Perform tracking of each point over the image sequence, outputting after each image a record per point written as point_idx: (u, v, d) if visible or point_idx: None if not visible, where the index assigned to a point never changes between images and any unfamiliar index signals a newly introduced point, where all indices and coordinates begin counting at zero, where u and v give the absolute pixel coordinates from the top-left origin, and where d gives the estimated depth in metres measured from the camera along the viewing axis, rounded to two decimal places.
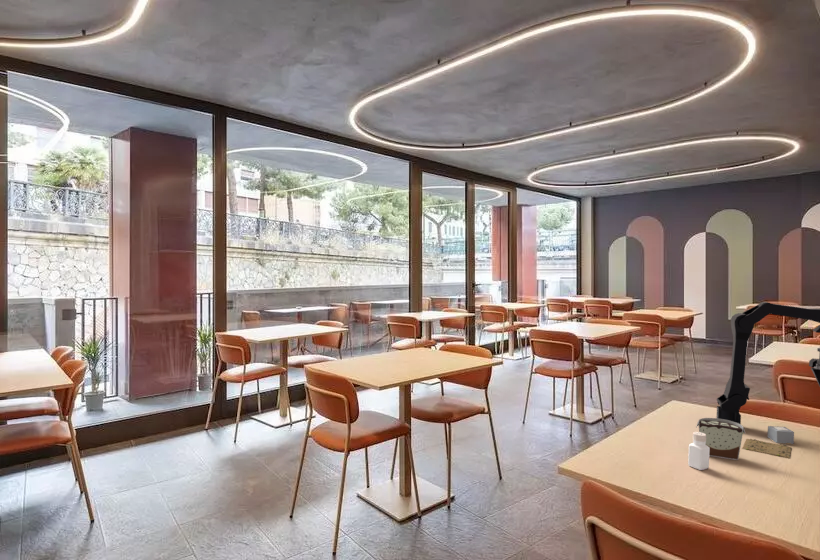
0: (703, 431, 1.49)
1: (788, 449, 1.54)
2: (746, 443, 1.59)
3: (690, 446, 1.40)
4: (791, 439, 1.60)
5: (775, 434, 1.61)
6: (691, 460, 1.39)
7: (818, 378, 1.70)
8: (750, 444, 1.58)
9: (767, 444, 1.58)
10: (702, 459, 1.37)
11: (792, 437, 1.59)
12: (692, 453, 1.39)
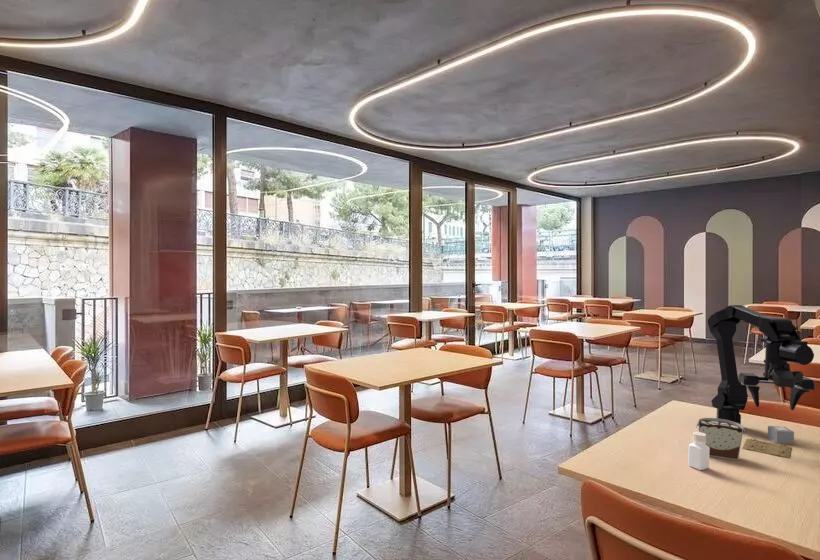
0: (703, 431, 1.49)
1: (788, 449, 1.54)
2: (746, 443, 1.59)
3: (690, 446, 1.40)
4: (791, 439, 1.60)
5: (775, 434, 1.61)
6: (691, 460, 1.39)
7: (791, 396, 1.55)
8: (750, 444, 1.58)
9: (767, 444, 1.58)
10: (702, 459, 1.37)
11: (792, 437, 1.59)
12: (692, 453, 1.39)
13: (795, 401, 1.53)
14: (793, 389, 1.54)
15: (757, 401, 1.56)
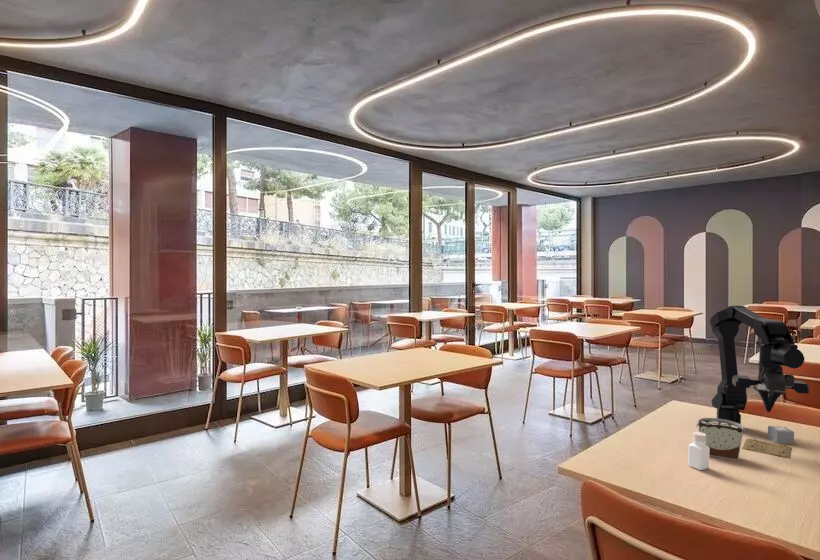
0: (703, 431, 1.49)
1: (788, 449, 1.54)
2: (746, 443, 1.59)
3: (690, 446, 1.40)
4: (791, 439, 1.60)
5: (775, 434, 1.61)
6: (691, 460, 1.39)
7: (769, 398, 1.56)
8: (750, 444, 1.58)
9: (767, 444, 1.58)
10: (702, 459, 1.37)
11: (792, 437, 1.59)
12: (692, 453, 1.39)
13: (772, 403, 1.54)
14: (771, 391, 1.55)
15: (767, 406, 1.54)
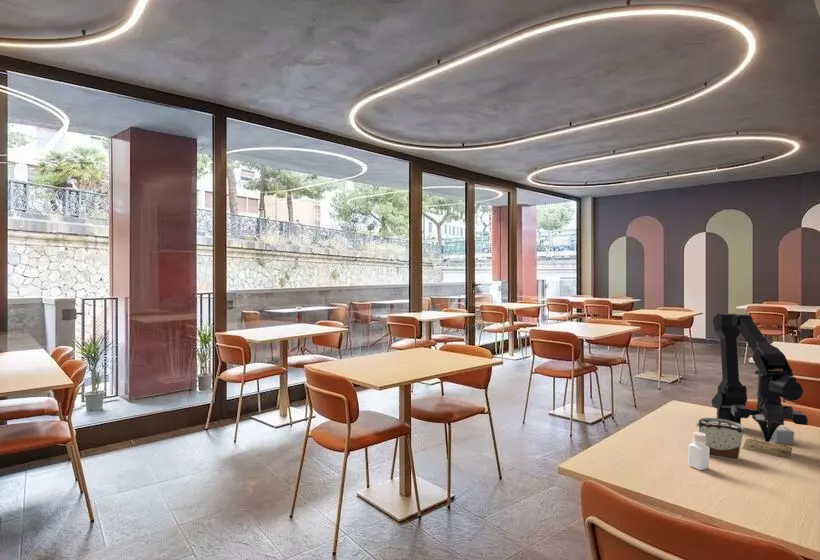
0: (703, 431, 1.49)
1: (788, 449, 1.54)
2: (746, 443, 1.59)
3: (690, 446, 1.40)
4: (791, 439, 1.59)
5: (775, 434, 1.61)
6: (691, 460, 1.39)
7: (768, 428, 1.56)
8: (750, 444, 1.58)
9: (767, 444, 1.58)
10: (702, 459, 1.37)
11: (792, 437, 1.59)
12: (692, 453, 1.39)
13: (770, 433, 1.54)
14: (769, 421, 1.55)
15: (765, 436, 1.55)
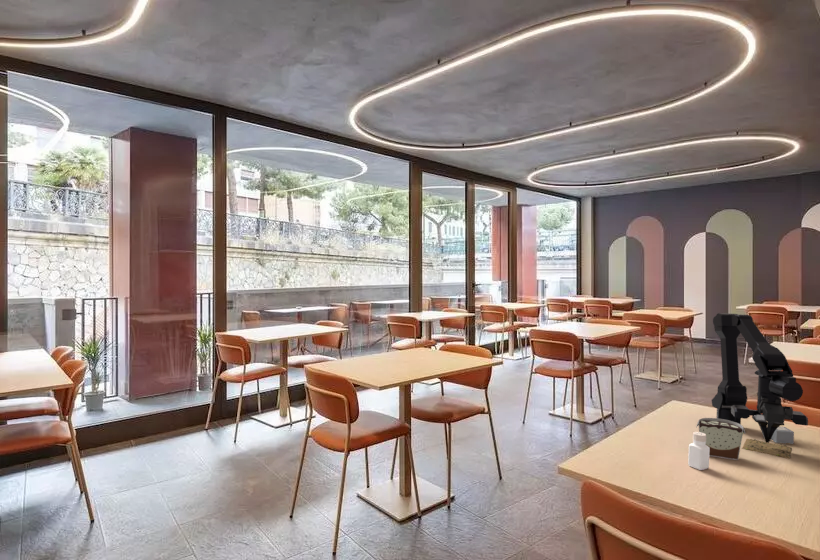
0: (703, 431, 1.49)
1: (788, 449, 1.54)
2: (746, 443, 1.59)
3: (690, 446, 1.40)
4: (791, 439, 1.59)
5: (775, 434, 1.61)
6: (691, 460, 1.39)
7: (768, 428, 1.56)
8: (750, 444, 1.58)
9: (767, 444, 1.58)
10: (702, 459, 1.37)
11: (792, 437, 1.59)
12: (692, 453, 1.39)
13: (770, 434, 1.54)
14: (769, 422, 1.55)
15: (765, 436, 1.55)
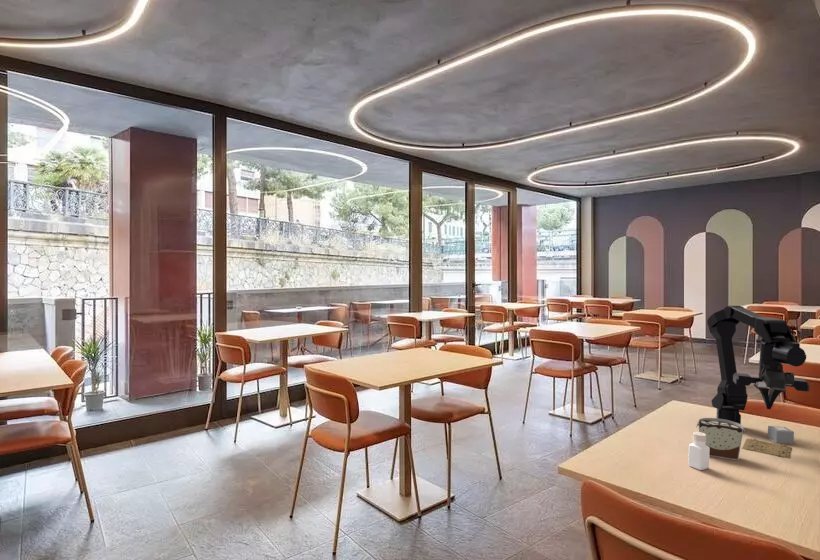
0: (703, 431, 1.49)
1: (788, 449, 1.54)
2: (746, 443, 1.59)
3: (690, 446, 1.40)
4: (791, 439, 1.59)
5: (775, 434, 1.61)
6: (691, 460, 1.39)
7: (769, 395, 1.57)
8: (750, 444, 1.58)
9: (767, 444, 1.58)
10: (702, 459, 1.37)
11: (792, 437, 1.59)
12: (692, 453, 1.39)
13: (772, 400, 1.55)
14: (771, 389, 1.56)
15: (767, 403, 1.56)
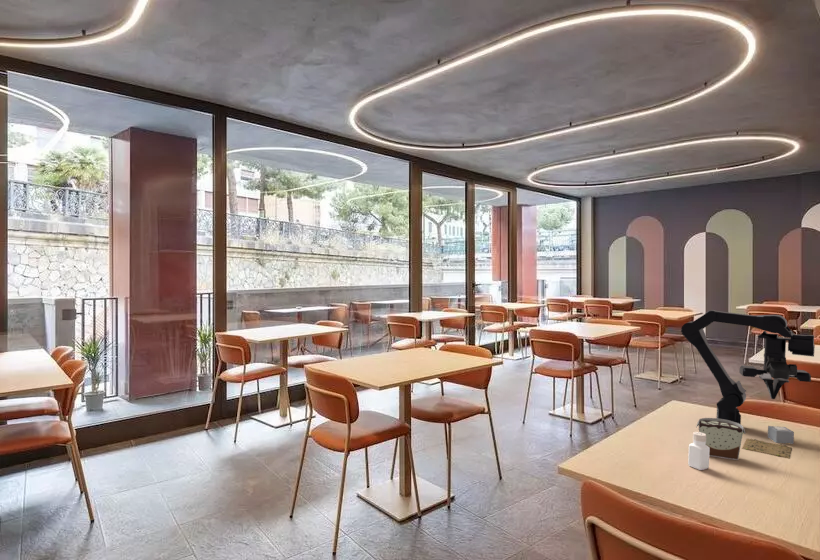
0: (703, 431, 1.49)
1: (788, 449, 1.54)
2: (746, 443, 1.59)
3: (690, 446, 1.40)
4: (791, 439, 1.59)
5: (775, 434, 1.61)
6: (691, 460, 1.39)
7: (773, 386, 1.69)
8: (750, 443, 1.58)
9: (767, 444, 1.58)
10: (702, 459, 1.37)
11: (792, 437, 1.59)
12: (692, 453, 1.39)
13: (776, 391, 1.66)
14: (775, 380, 1.68)
15: (772, 393, 1.67)
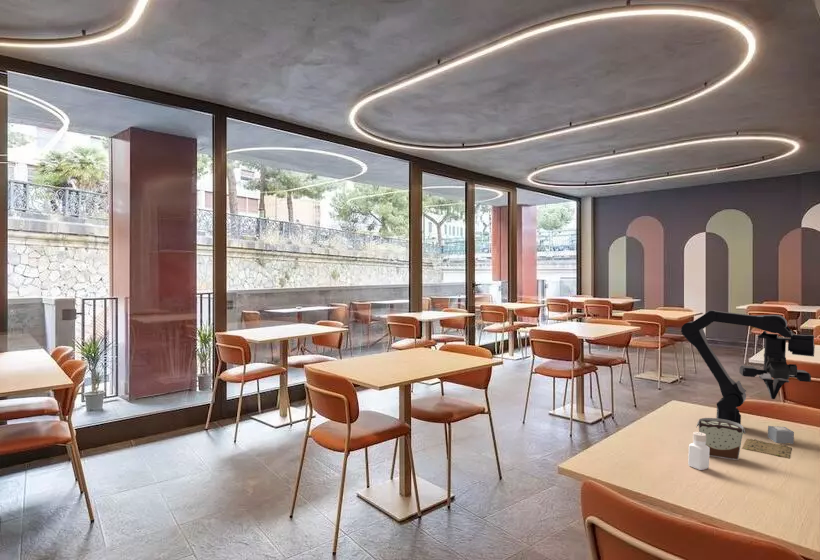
0: (703, 431, 1.49)
1: (788, 449, 1.54)
2: (746, 443, 1.59)
3: (690, 446, 1.40)
4: (791, 439, 1.59)
5: (775, 434, 1.61)
6: (691, 460, 1.39)
7: (773, 386, 1.69)
8: (750, 444, 1.58)
9: (767, 444, 1.58)
10: (702, 459, 1.37)
11: (792, 437, 1.59)
12: (692, 453, 1.39)
13: (776, 391, 1.66)
14: (775, 380, 1.68)
15: (772, 393, 1.67)
